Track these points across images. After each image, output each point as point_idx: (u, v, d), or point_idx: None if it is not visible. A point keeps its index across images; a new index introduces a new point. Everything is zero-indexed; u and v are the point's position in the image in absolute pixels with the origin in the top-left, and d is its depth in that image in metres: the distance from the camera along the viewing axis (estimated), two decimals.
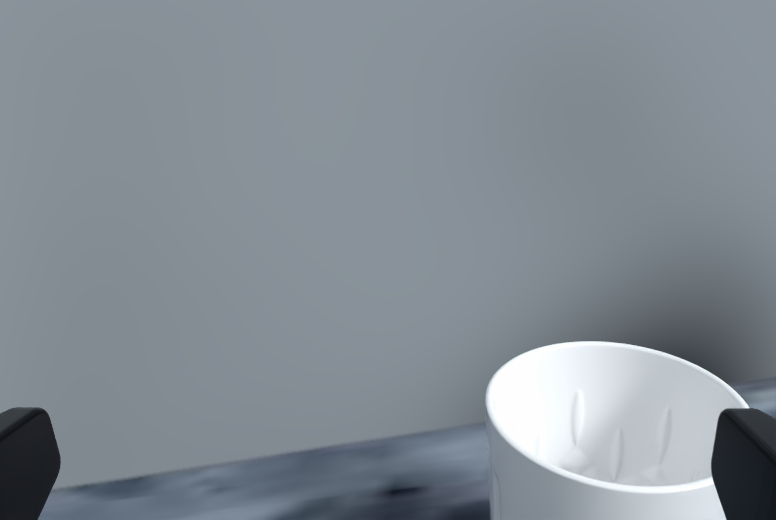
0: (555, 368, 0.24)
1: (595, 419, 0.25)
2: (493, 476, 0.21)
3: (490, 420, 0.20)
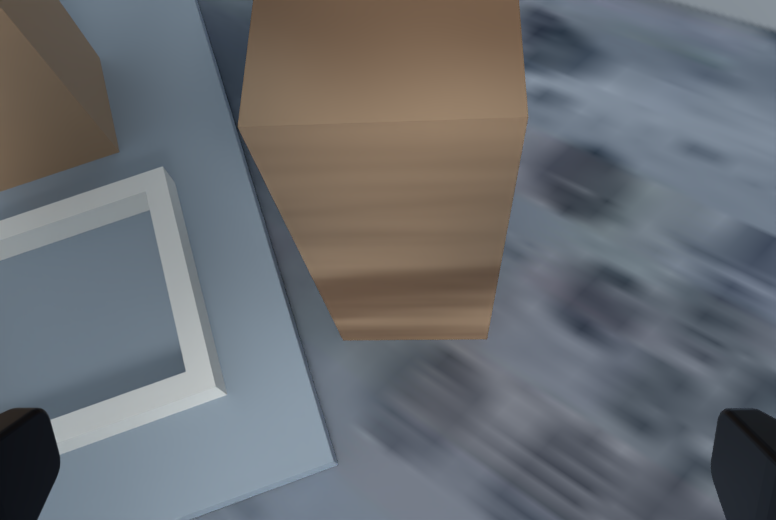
0: None
1: None
2: None
3: None
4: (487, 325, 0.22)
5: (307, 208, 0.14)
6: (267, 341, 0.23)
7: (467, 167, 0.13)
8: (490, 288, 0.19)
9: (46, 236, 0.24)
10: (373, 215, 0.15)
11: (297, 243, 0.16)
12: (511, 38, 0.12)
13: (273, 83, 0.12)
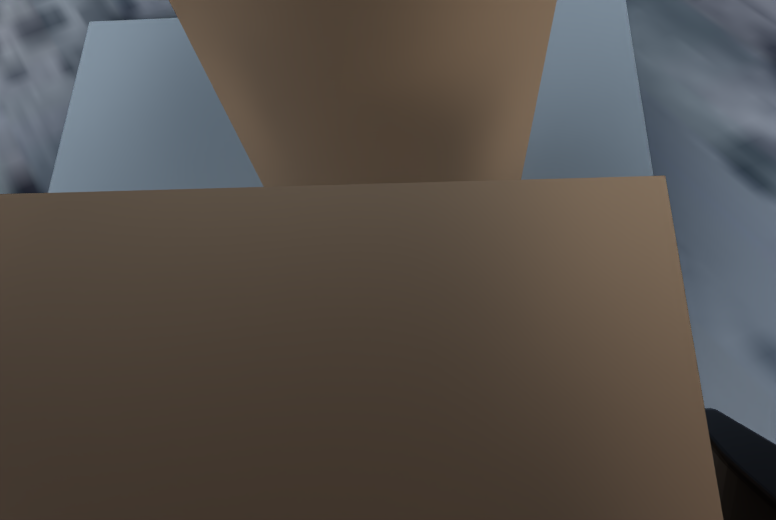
0: None
1: None
2: None
3: None
4: None
5: None
6: None
7: None
8: None
9: None
10: None
11: None
12: None
13: None
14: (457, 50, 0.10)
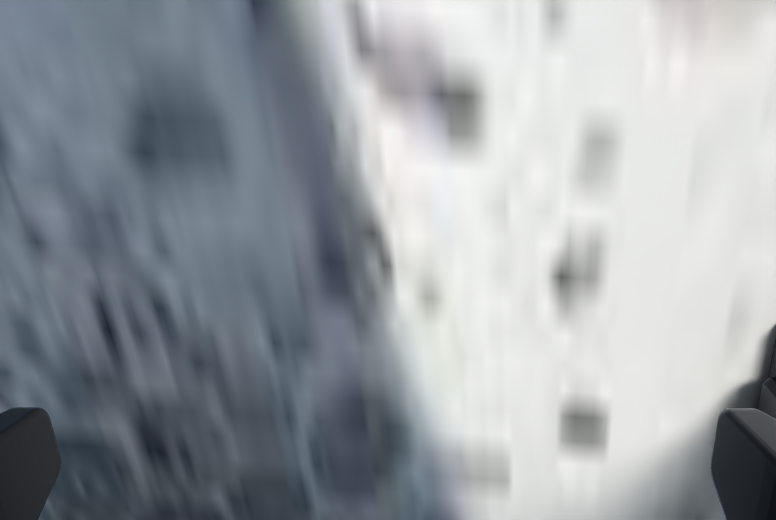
0: None
1: None
2: None
3: None
4: None
5: None
6: None
7: None
8: None
9: None
10: None
11: None
12: None
13: None
14: None
